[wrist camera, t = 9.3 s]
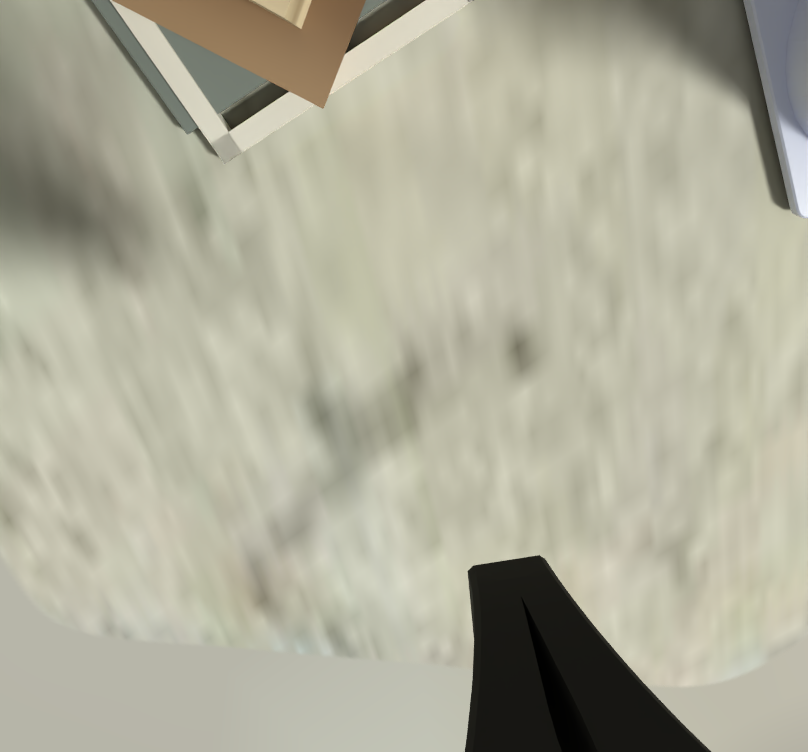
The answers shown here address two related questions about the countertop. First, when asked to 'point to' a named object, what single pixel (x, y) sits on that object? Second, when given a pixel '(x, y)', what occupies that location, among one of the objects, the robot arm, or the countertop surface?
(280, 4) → the maple cube
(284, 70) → the walnut slab
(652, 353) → the countertop surface
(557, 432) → the countertop surface
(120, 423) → the countertop surface
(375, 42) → the slate mat
